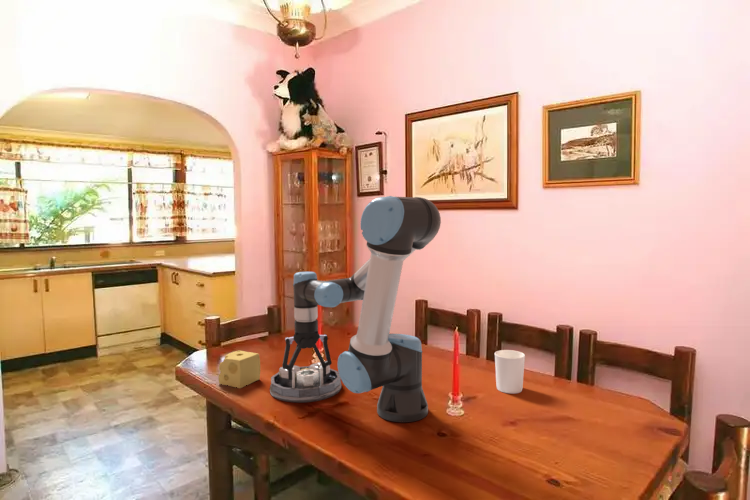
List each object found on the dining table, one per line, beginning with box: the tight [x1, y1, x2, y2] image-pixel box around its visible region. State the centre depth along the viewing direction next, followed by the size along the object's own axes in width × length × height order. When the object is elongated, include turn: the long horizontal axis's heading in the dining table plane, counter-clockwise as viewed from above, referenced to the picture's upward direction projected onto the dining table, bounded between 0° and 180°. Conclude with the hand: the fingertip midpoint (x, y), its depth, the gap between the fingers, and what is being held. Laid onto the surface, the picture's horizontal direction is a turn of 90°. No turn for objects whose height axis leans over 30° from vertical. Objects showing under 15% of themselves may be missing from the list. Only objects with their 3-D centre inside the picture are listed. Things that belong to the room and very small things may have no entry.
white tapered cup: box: [494, 349, 526, 394], centre depth 156 cm, size 10×10×12 cm
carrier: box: [269, 361, 342, 404], centre depth 159 cm, size 24×24×8 cm
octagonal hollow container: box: [296, 369, 319, 389], centre depth 153 cm, size 7×7×6 cm
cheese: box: [217, 349, 261, 389], centre depth 166 cm, size 10×11×10 cm
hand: (307, 387), depth 153 cm, fingers open, 8 cm apart
